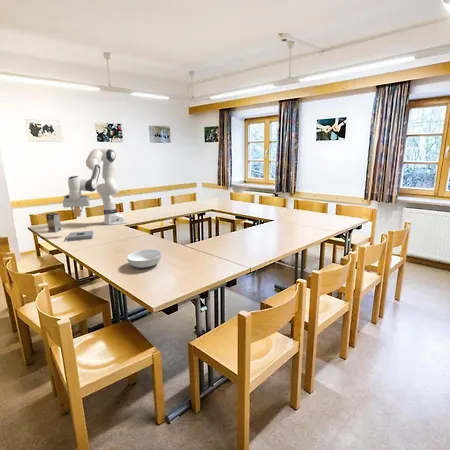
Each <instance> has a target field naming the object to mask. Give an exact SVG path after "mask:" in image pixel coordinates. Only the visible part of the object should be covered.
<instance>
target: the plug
mask: <svg viewBox="0 0 450 450" xmlns="http://www.w3.org/2000/svg"><path fill="white" fill-rule="evenodd" d="M73 210H74V212H73V213H74V217H76V218H78V217H80V218H81V216H82V212H80V210H81V207H73Z"/></svg>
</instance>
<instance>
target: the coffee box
mask: <svg viewBox="0 0 450 450" xmlns="http://www.w3.org/2000/svg"><path fill="white" fill-rule="evenodd" d="M45 217H46V223H47V224H46V225H47V231H48V232H51V233H57V232H58V233H59V232H61V231H62V225H61V219H60V218H61V217H60V213H59V212H58V213H55V212H50V213H46V214H45Z"/></svg>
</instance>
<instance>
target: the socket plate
mask: <svg viewBox="0 0 450 450" xmlns="http://www.w3.org/2000/svg"><path fill="white" fill-rule="evenodd" d="M93 237H94V230H84V231H83V230H82V231H73V232H69V233H68V235H67V237H66V238H67V242H76V241H84V240H92V239H93Z"/></svg>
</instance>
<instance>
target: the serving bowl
mask: <svg viewBox="0 0 450 450" xmlns="http://www.w3.org/2000/svg"><path fill="white" fill-rule="evenodd" d="M161 258H162V252H161V251H160V250H158V249H141V250H136V251H133V252H131V253H129V254H127V256H126V259H127V262H128V264H129V265H130V266H132V267H134V268H141V269H142V268H143V269H144V268H149V267H153V266H155V265H157V264H159V262H160V261H161Z"/></svg>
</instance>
